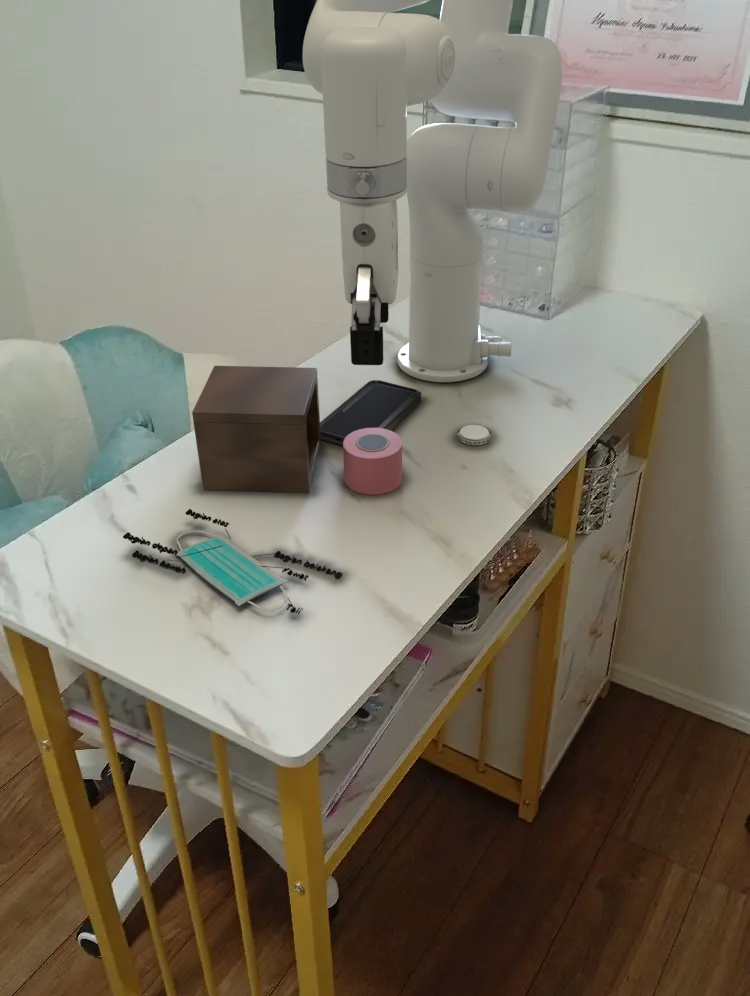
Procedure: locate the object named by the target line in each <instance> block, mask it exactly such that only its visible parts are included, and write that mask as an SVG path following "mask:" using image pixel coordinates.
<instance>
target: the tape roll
mask: <svg viewBox="0 0 750 996" xmlns="http://www.w3.org/2000/svg"><path fill="white" fill-rule="evenodd" d="M342 450H343V451H342V454H343V455H342V456H343V480H344V483H345V485H346V487H348V488H349V489H350V490H351V491H352V492H355V493H358V494H361V495H367V496H378V495H379V496H380V495H384V494H388V493H391V492H393V491H395V490H396V489H397V488H399V486H401V484H402V482H403V440H402V438H401V435H399V434H398V433H396V432H395V431H393V430H391V431H390V430H387V429H383V428H364V429H359V430H356V431H354V432H352V433H350V434H349V435H347V436H346V437H345V439H344V441H343V446H342Z"/></svg>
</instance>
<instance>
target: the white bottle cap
mask: <svg viewBox="0 0 750 996" xmlns="http://www.w3.org/2000/svg"><path fill="white" fill-rule="evenodd" d="M491 437H492V432H491V430H490V428H489V427H487V426H485V425H482V424H477V423H471V424H470V423H469V424H465V425H462V426H460V427H459V428H458V430H457V439H458V441H460V442H461V443H463V444H466V445H469V446H481V445H485V444H487V443H489V442H490V441H491Z"/></svg>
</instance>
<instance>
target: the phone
mask: <svg viewBox="0 0 750 996" xmlns="http://www.w3.org/2000/svg"><path fill="white" fill-rule="evenodd" d="M421 403H422V391H421V390H419V389H416V388H413V387H408V386H405V385H401V384H396V383H392V382H389V381H384V380H380V379H372V380H369V381H368V382H367V383H365V384H364V385H363V386H361V387H360V388H359V389H358V390H357V391H356V392H355V393H353V394H352V395H351V396H350V397H349V398H347V400H345V401H344V402H342V403H341V404H339V406H338V407H336V408H335V409H334V410H333V411H332V412H330V413H329V414H328V415H327V416H326V417H324V418H323V419H322V420H320V433H321V441H325V442H329V443H332V444H336V445H340V446H342V447H343V441H344V439H345V437H346V436H347V435H349V434H350V433H352V432H354V431H356V430H359V429H364V428H383V429H387V430H390V431H393V429H394V428H396V427H397V426H398V425H399V424H400V423H401V422H402V421H403V420H404V419H405V418H406V417H407V416H408V415H409V414H410V413H412V412H413V411H414V410H415V409H416V408H417V407H418V406H419V405H420V404H421Z"/></svg>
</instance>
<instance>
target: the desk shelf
mask: <svg viewBox="0 0 750 996" xmlns="http://www.w3.org/2000/svg"><path fill="white" fill-rule="evenodd" d="M318 378H319V377H318V368H317V367H294V366H293V367H291V366H249V365H247V366H246V365H243V366H242V365H214V366H213V368H212V370H211V372H210V373H209V376H208V378H207V380H206V382H205V385H204V386H203V388H202V391H201V393H200V394H199V397H198V399H197V400H196V403H195V405H194V408H193V409H192V412H191V414H192V421H193V429H194V435H195V443H196V450H197V457H198V463H199V464H198V465H199V469H200V471H199V472H200V478H201V485H202V490H203V491H224V492H225V491H226V492H227V491H229V492H255V493H256V492H257V493H258V492H261V493H262V492H263V493H288V494H289V493H293V494H295V493H296V494H310V492H311V486H312V482H313V477H314V473H315V470H316V464H317V462H318V461H317V460H318V456H319V451H320V447H321V444H322V440H321V433H320V422H321V416H320V399H319V381H318Z"/></svg>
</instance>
